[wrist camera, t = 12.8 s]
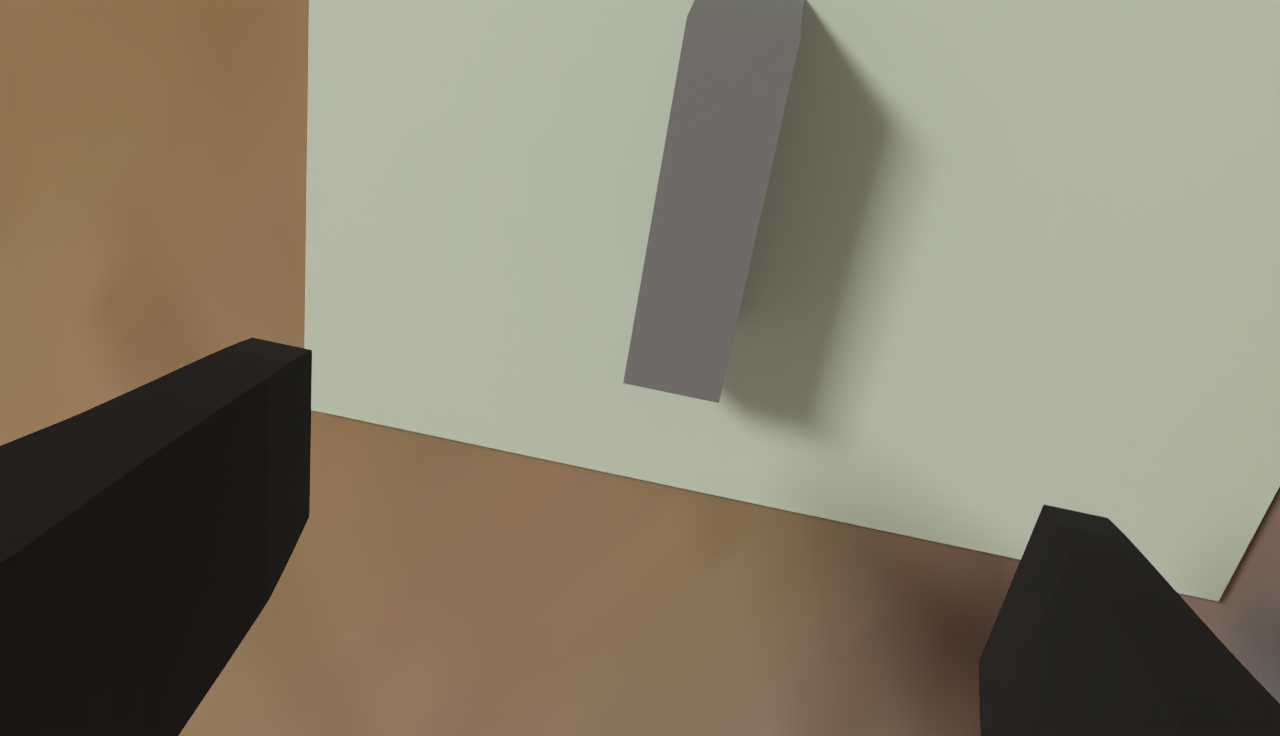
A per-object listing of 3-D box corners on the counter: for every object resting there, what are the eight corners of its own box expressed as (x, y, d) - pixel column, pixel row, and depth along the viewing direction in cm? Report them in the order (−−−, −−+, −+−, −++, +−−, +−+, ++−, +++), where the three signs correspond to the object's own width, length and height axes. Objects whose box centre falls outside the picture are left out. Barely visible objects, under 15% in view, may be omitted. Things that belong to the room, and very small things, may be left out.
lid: (1204, 569, 24) (1264, 705, 21) (321, 384, 25) (244, 486, 21) (1572, -145, 17) (1749, -112, 14) (338, -370, 18) (228, -388, 15)
